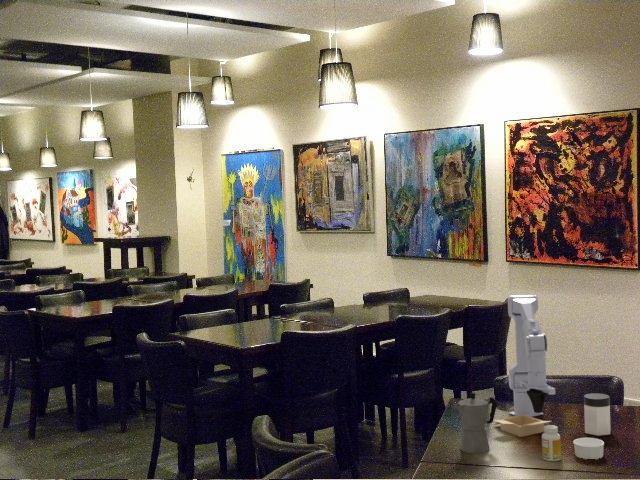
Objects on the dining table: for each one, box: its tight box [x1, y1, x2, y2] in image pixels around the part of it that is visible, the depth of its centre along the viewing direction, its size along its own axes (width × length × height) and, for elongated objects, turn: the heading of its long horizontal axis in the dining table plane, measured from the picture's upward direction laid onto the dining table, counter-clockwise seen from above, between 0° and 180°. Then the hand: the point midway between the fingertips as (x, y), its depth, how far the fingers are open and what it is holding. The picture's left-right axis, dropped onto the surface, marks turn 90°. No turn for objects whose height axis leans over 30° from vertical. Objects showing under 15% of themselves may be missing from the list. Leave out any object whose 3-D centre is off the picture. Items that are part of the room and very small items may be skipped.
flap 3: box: [525, 415, 550, 426], centre depth 274 cm, size 1×9×5 cm
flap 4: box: [523, 420, 553, 426], centre depth 264 cm, size 8×1×5 cm
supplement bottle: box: [541, 424, 562, 462], centre depth 241 cm, size 5×5×10 cm
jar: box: [583, 392, 611, 436], centre depth 265 cm, size 9×8×12 cm
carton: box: [500, 415, 545, 438], centre depth 271 cm, size 10×10×4 cm
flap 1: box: [493, 419, 515, 425], centre depth 267 cm, size 1×5×5 cm
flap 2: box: [493, 415, 522, 426], centre depth 277 cm, size 9×1×5 cm
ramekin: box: [572, 437, 605, 460], centre depth 242 cm, size 9×9×4 cm
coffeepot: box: [454, 392, 498, 455], centre depth 253 cm, size 15×9×18 cm, turn 113°
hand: (538, 412), depth 263 cm, fingers closed
